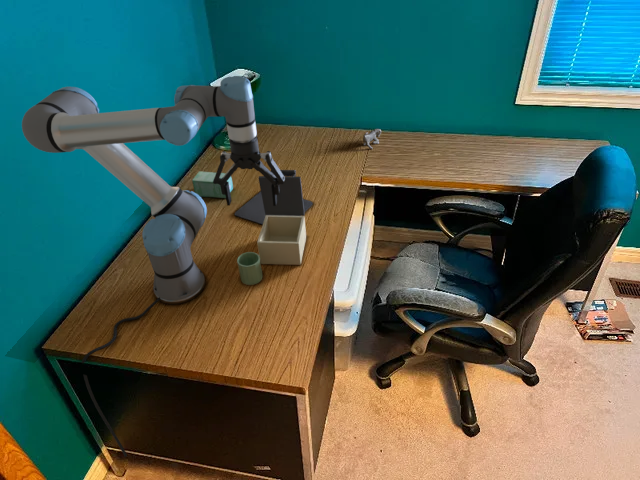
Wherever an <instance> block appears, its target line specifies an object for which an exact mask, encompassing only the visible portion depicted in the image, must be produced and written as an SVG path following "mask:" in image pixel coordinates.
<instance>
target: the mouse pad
mask: <svg viewBox="0 0 640 480" xmlns="http://www.w3.org/2000/svg"><path fill="white" fill-rule="evenodd" d="M303 204H304V213H306V212H307V211H308V210H309V209H310V208H311V207H312V206H313V201H311V200H309V199H304V198H303ZM234 216H235V217H238V218H241V219H243V220H247V221H250V222H253V223H256V224H259V225H262V226H263V223H264V219H265V216H266V215H265V210H264V205H263V200H262V194H261V191H259V192H258V193H256V194H255V195H254V196H253V197H252V198H250V199H249V200H248V201H247V202H246V203H245V204H243V205H242V206H241V207H240V208H239V209H237V210H236V211H235V212H234ZM272 216H298V215H272Z"/></svg>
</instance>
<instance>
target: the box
mask: <svg viewBox="0 0 640 480" xmlns="http://www.w3.org/2000/svg"><path fill="white" fill-rule="evenodd" d="M226 173H227V172H221V175H220V177H219V178H221V179H222V178H223V176H224V175H225V174H226ZM215 175H216V172H212V171H200V170H199V171H198V172H197V173H196V175H195V176H194V177H193V178H192V179H191V181H192V186H193V192H195V193H196V194H198V195H199V196H200V197H203V198H204V197H205V198H218V199H226V196H225V195H223V194H222V192H221V186H220V185H219V184H214V183H213V180H214V178H215ZM227 182H229V188H230V193H232V191H233V189H234V184H233V178H232V176H231V177H230V178H229V179H228V180H227Z"/></svg>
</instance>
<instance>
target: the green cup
mask: <svg viewBox="0 0 640 480" xmlns="http://www.w3.org/2000/svg"><path fill="white" fill-rule="evenodd" d="M236 263H237V268H238V273H239V278H240V281H241V283H242V284H245V285H248V286H252V285H257V284H259V283H260V282H261V281H262V280H263V276H264V275H263V268H262V264H261V262H260V256H259V253H256V252H254V251H247V252H243V253H241V254H239V256H238V257H237V259H236Z"/></svg>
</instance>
